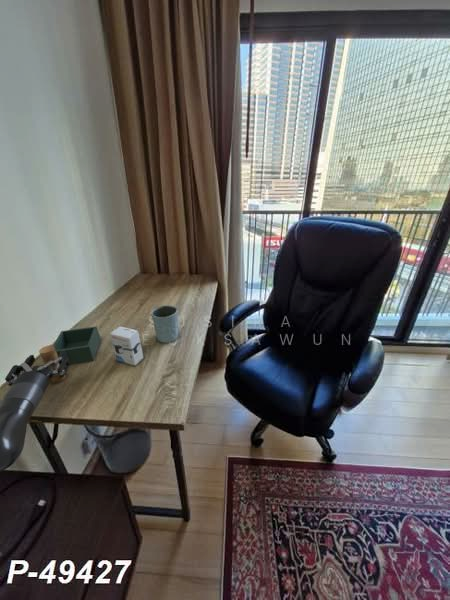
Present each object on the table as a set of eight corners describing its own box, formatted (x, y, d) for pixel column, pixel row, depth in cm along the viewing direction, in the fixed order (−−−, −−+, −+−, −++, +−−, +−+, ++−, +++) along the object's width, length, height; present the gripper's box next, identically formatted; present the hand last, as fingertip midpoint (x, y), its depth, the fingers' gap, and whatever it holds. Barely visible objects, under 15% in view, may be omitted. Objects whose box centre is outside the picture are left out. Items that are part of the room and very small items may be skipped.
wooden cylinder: (49, 384, 80) (36, 354, 75) (54, 375, 83) (41, 346, 78) (63, 381, 81) (51, 351, 76) (67, 373, 84) (56, 344, 79)
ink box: (115, 360, 90) (108, 333, 85) (125, 352, 94) (119, 325, 89) (135, 366, 87) (128, 338, 82) (144, 357, 91) (138, 330, 86)
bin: (54, 367, 87) (48, 352, 84) (66, 344, 99) (61, 331, 96) (93, 360, 90) (89, 346, 87) (100, 339, 102) (96, 326, 99)
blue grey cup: (157, 346, 97) (152, 319, 92) (153, 332, 106) (149, 307, 100) (182, 340, 101) (179, 314, 95) (177, 327, 109) (174, 303, 104)
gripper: (52, 377, 63) (70, 341, 77) (-15, 389, 60) (17, 348, 74) (61, 399, 67) (77, 360, 81) (-2, 410, 64) (26, 368, 78)
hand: (48, 354), depth 78 cm, fingers open, 8 cm apart
